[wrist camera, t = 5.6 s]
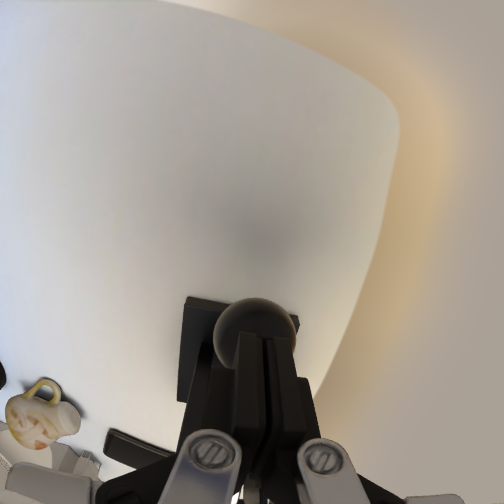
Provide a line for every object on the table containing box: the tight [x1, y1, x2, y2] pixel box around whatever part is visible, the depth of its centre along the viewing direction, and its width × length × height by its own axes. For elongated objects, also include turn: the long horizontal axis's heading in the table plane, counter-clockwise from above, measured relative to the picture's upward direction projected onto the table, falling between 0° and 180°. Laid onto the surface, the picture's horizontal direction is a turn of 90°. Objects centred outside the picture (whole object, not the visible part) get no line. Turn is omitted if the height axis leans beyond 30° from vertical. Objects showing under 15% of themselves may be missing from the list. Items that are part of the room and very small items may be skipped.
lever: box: [213, 298, 296, 504], centre depth 10 cm, size 13×3×3 cm
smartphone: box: [103, 430, 173, 470], centre depth 28 cm, size 7×1×15 cm
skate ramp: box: [0, 421, 101, 481], centre depth 28 cm, size 25×23×10 cm
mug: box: [5, 379, 81, 450], centre depth 23 cm, size 8×10×10 cm
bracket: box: [176, 297, 300, 504], centre depth 15 cm, size 10×8×16 cm
